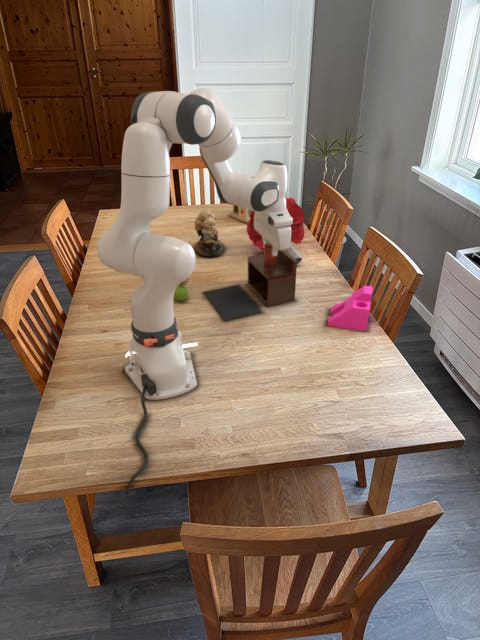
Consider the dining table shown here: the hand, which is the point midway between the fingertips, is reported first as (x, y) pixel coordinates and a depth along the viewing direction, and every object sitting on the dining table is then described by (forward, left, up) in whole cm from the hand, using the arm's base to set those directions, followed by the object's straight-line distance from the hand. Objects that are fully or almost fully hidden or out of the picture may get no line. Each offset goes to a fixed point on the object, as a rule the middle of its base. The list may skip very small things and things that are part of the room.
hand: (270, 252), depth 165 cm
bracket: (-26, -16, -16) cm, 34 cm away
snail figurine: (+8, +30, -13) cm, 33 cm away
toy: (0, 0, -5) cm, 5 cm away
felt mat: (-1, +14, -16) cm, 21 cm away
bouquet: (+28, -18, -16) cm, 36 cm away
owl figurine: (+42, +6, -16) cm, 45 cm away
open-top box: (0, -1, -16) cm, 16 cm away
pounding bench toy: (+66, -26, -16) cm, 73 cm away
